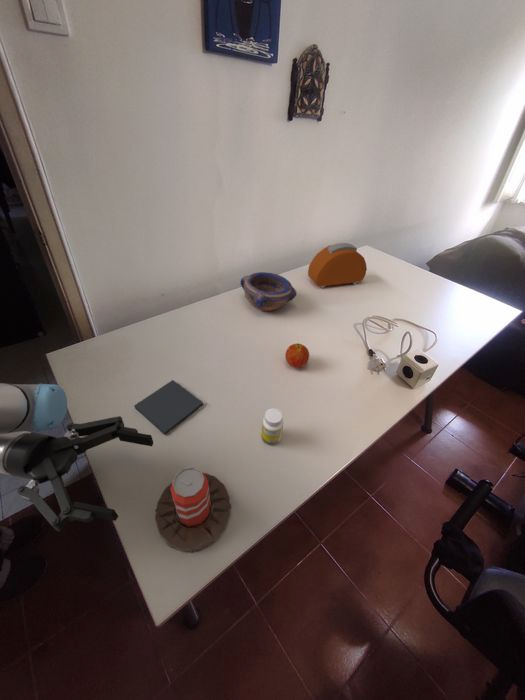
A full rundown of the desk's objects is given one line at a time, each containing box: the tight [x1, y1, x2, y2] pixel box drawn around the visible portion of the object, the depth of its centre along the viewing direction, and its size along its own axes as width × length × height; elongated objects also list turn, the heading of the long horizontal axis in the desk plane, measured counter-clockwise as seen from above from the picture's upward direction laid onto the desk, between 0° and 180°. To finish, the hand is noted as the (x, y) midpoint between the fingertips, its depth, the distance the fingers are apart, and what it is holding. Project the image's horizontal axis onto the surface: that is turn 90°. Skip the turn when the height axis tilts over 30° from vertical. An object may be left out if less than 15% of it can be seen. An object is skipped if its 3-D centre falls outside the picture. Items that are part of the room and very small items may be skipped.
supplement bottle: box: [260, 407, 284, 446], centre depth 71 cm, size 5×5×8 cm
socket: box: [154, 472, 232, 554], centre depth 59 cm, size 14×14×2 cm
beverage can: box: [170, 466, 212, 528], centre depth 56 cm, size 6×6×12 cm
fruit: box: [284, 342, 310, 368], centre depth 91 cm, size 7×7×8 cm
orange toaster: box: [307, 242, 368, 289], centre depth 130 cm, size 23×9×17 cm, turn 108°
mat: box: [133, 379, 204, 436], centre depth 79 cm, size 12×12×1 cm
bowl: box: [240, 271, 297, 312], centre depth 115 cm, size 18×18×10 cm
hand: (135, 474), depth 54 cm, fingers open, 13 cm apart
